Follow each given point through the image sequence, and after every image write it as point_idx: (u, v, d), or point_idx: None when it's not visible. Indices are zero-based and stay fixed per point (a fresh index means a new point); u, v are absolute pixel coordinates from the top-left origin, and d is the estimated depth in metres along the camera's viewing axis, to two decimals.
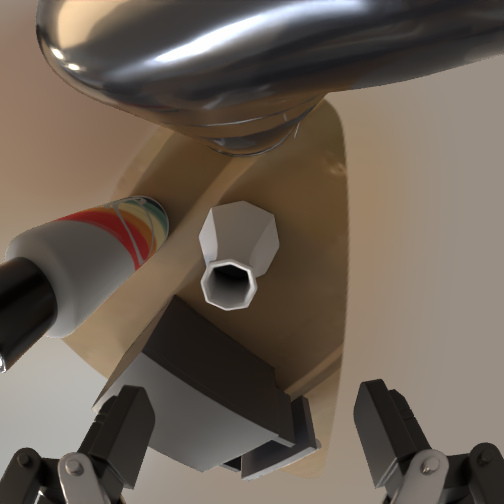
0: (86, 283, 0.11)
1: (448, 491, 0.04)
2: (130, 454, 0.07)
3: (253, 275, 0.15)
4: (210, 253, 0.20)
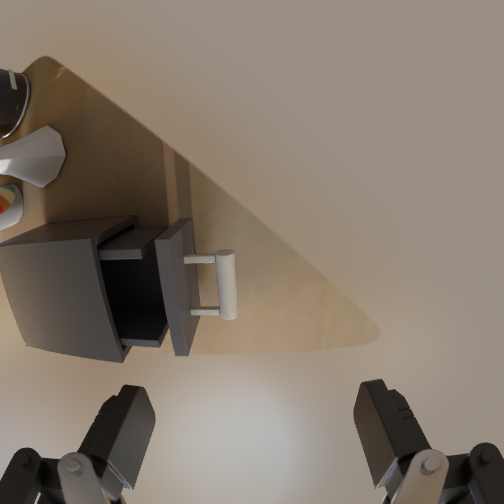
0: None
1: (448, 491, 0.04)
2: (129, 455, 0.07)
3: None
4: None
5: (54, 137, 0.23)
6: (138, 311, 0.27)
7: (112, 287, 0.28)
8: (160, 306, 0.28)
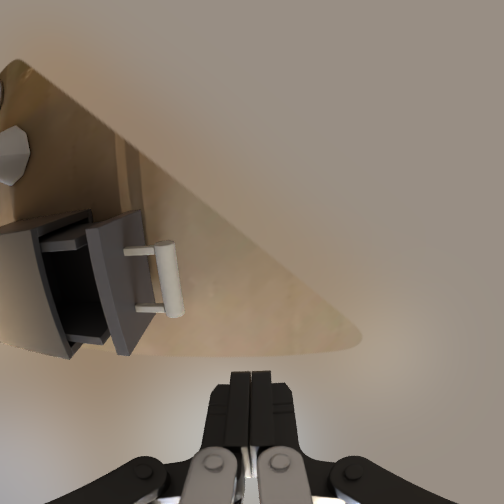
0: None
1: None
2: None
3: None
4: None
5: (19, 136, 0.21)
6: (92, 308, 0.24)
7: (70, 283, 0.25)
8: None
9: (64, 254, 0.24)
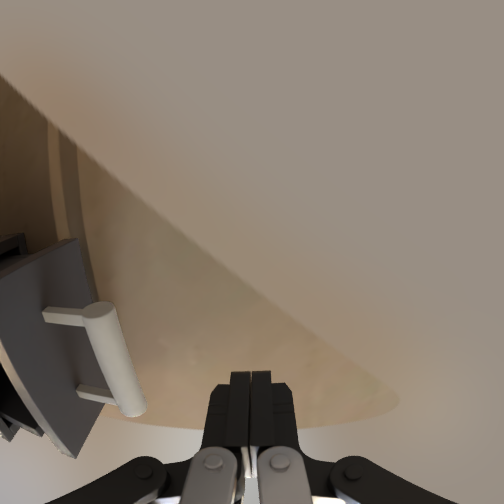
0: None
1: None
2: None
3: None
4: None
5: None
6: None
7: None
8: None
9: None
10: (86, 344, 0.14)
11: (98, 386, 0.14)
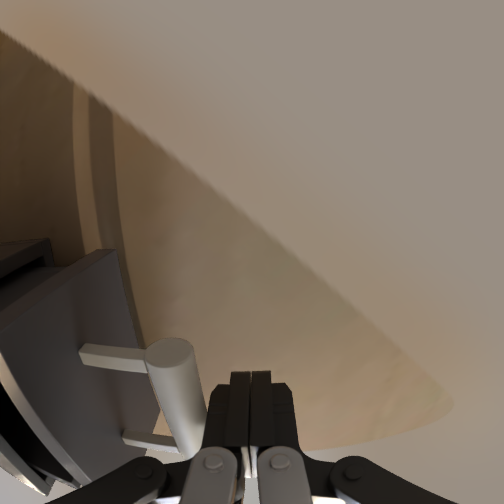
0: None
1: None
2: None
3: None
4: None
5: None
6: None
7: None
8: None
9: None
10: (129, 380, 0.11)
11: (142, 425, 0.12)
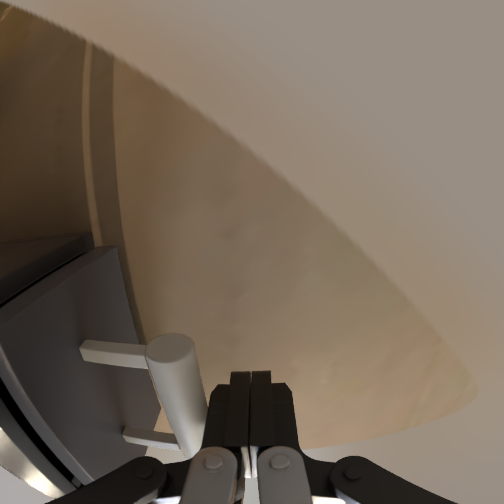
0: None
1: None
2: None
3: None
4: None
5: None
6: None
7: None
8: None
9: None
10: (129, 377, 0.11)
11: (143, 422, 0.12)
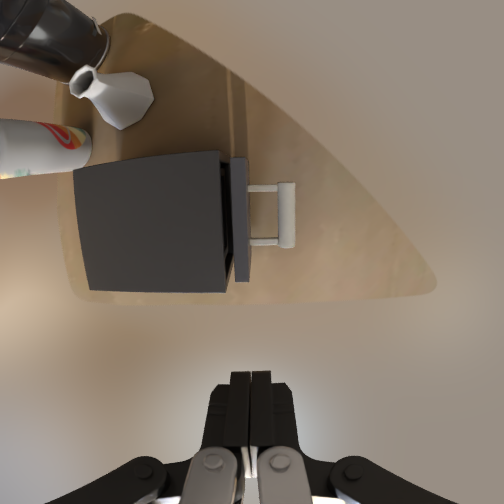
0: (9, 122, 0.15)
1: None
2: None
3: (88, 66, 0.17)
4: None
5: (143, 80, 0.26)
6: None
7: None
8: None
9: None
10: (249, 219, 0.28)
11: (250, 248, 0.29)
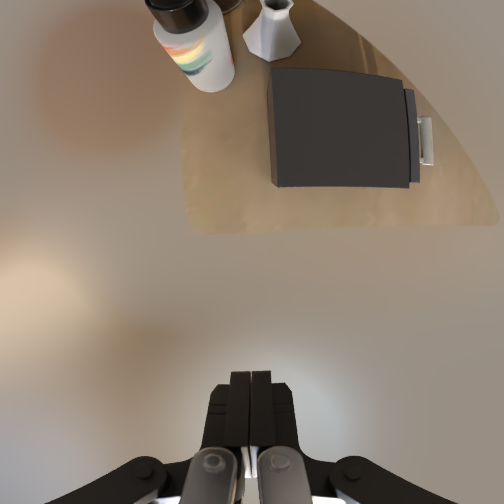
0: None
1: None
2: None
3: None
4: (260, 25, 0.23)
5: None
6: None
7: None
8: None
9: None
10: None
11: None
